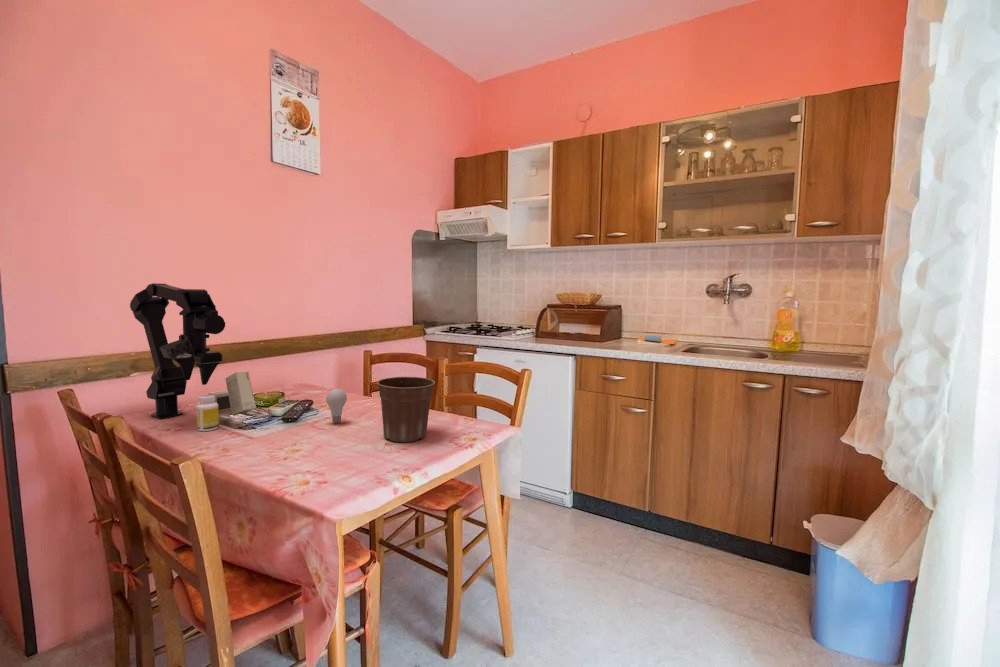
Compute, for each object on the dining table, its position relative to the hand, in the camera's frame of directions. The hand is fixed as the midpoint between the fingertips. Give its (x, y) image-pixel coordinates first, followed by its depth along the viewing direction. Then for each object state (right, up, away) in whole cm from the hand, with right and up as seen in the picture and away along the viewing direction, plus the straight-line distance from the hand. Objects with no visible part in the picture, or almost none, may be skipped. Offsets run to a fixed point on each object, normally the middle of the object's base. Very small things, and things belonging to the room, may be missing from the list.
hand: (195, 382), depth 135 cm
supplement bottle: (+6, -13, -4) cm, 15 cm away
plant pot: (+65, -15, -6) cm, 67 cm away
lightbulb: (+41, -14, +5) cm, 43 cm away
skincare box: (+12, -10, +4) cm, 16 cm away
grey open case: (+8, -12, +7) cm, 16 cm away
